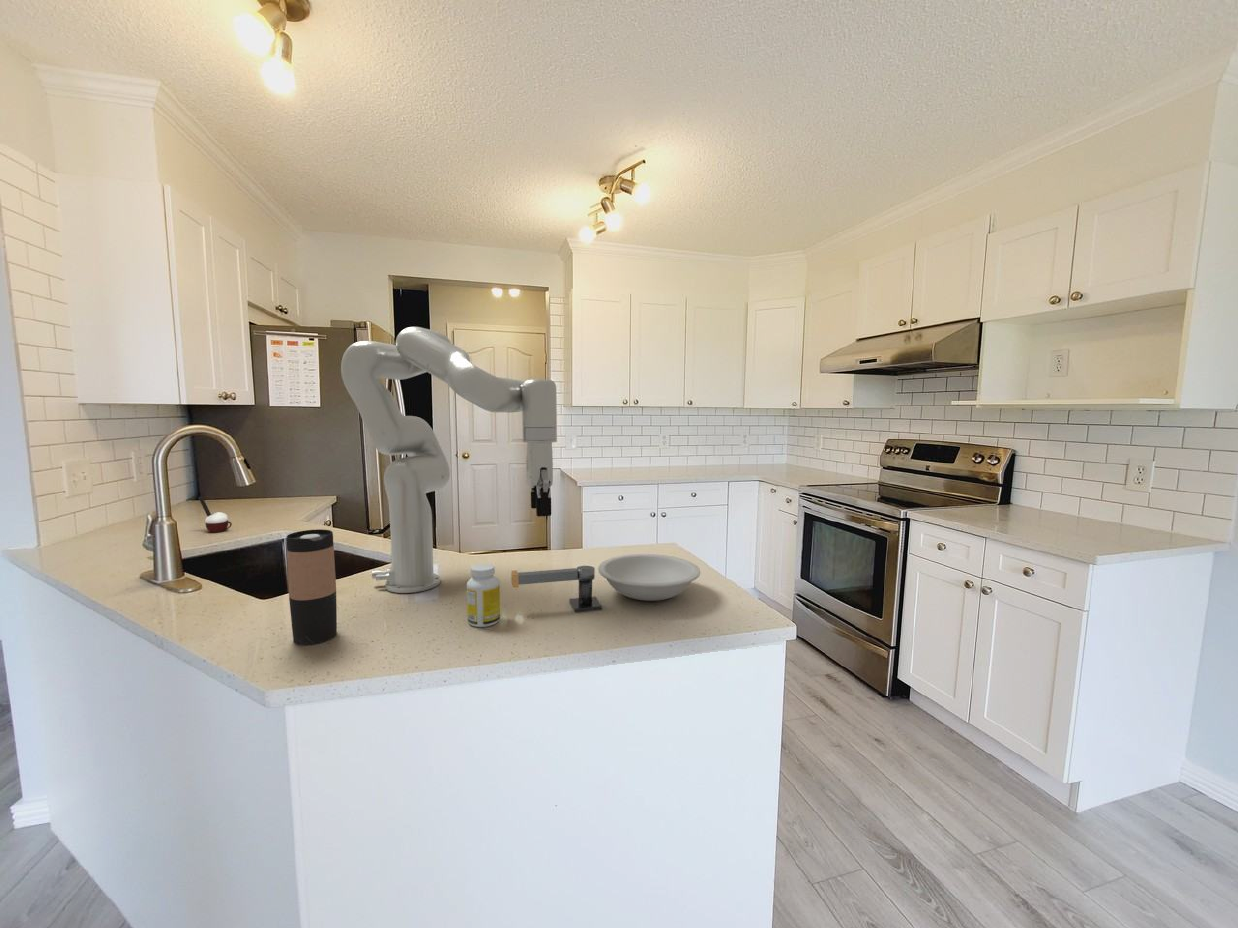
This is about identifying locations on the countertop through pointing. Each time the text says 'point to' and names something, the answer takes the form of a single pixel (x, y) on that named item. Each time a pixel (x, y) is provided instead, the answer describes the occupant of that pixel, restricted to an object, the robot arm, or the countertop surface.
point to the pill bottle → (483, 596)
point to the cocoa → (215, 520)
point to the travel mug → (312, 586)
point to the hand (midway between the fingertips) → (540, 511)
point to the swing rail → (553, 575)
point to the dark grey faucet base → (585, 598)
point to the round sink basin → (649, 575)
